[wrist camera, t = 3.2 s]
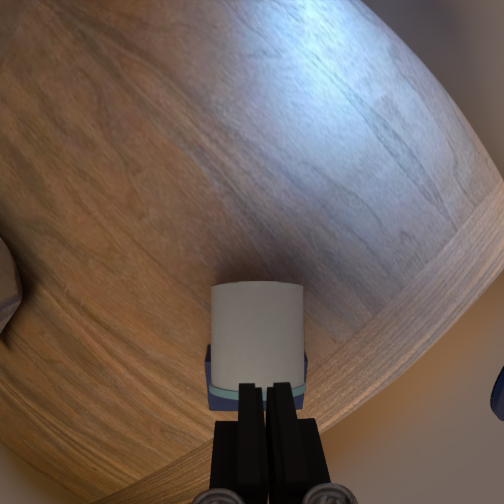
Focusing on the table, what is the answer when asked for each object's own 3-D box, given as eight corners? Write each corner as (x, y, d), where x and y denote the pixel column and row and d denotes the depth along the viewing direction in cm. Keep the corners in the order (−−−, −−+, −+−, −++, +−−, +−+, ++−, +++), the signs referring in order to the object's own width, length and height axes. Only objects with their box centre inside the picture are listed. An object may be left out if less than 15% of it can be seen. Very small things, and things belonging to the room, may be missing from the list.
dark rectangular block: (303, 343, 30) (308, 361, 27) (298, 390, 32) (302, 409, 29) (207, 344, 30) (203, 362, 27) (211, 391, 31) (208, 410, 29)
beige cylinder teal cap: (212, 254, 27) (194, 309, 18) (299, 254, 27) (326, 307, 18) (217, 357, 30) (207, 434, 21) (293, 356, 30) (308, 432, 21)
